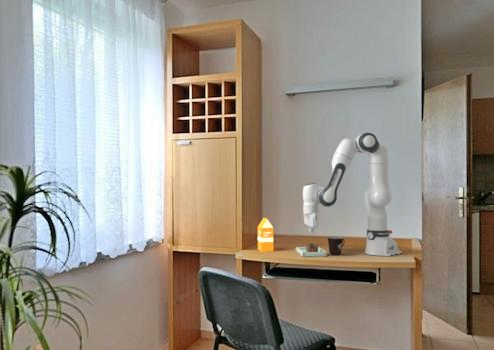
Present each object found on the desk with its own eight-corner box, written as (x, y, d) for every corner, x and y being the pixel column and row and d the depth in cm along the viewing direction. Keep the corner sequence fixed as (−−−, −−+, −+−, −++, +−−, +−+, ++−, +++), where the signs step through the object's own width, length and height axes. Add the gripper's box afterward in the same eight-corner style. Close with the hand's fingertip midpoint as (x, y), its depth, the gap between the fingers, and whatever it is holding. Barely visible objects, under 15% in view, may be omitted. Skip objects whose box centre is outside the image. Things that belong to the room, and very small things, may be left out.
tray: (318, 250, 261) (318, 246, 261) (327, 256, 243) (327, 252, 243) (295, 251, 260) (295, 247, 260) (303, 256, 241) (303, 252, 241)
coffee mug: (331, 256, 242) (331, 239, 242) (325, 253, 251) (325, 236, 251) (350, 255, 244) (350, 238, 244) (343, 253, 253) (343, 236, 253)
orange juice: (261, 252, 257) (261, 219, 257) (257, 249, 266) (257, 217, 266) (273, 251, 259) (273, 218, 259) (269, 249, 268) (269, 217, 268)
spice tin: (314, 243, 253) (318, 245, 245) (314, 252, 253) (318, 254, 245) (306, 243, 253) (309, 246, 245) (306, 252, 253) (309, 254, 245)
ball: (313, 250, 247) (312, 254, 248) (315, 248, 249) (313, 253, 250) (309, 248, 248) (308, 253, 249) (310, 247, 250) (309, 251, 251)
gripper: (320, 211, 242) (321, 235, 242) (311, 209, 262) (312, 231, 262) (310, 212, 241) (310, 236, 241) (301, 209, 262) (302, 231, 261)
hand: (311, 233), depth 252 cm, fingers closed
